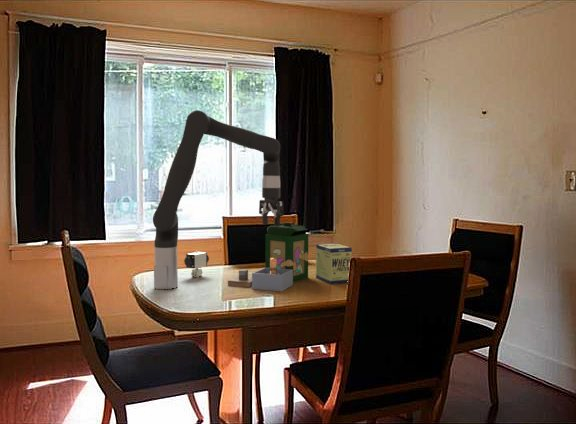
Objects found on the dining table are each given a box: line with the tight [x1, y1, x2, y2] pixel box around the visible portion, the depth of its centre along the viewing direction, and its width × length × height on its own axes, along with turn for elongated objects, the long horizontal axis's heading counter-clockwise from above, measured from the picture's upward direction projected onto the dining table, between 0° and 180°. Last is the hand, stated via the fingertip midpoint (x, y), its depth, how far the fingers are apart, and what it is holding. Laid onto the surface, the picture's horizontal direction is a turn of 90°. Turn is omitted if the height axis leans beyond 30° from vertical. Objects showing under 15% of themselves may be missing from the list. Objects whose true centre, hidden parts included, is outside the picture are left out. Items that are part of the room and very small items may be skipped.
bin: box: [251, 267, 294, 292], centre depth 237 cm, size 13×13×7 cm
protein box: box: [315, 243, 353, 285], centre depth 251 cm, size 10×16×16 cm
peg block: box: [270, 258, 281, 275], centre depth 237 cm, size 6×6×12 cm
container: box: [264, 222, 309, 283], centre depth 254 cm, size 15×18×25 cm
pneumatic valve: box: [183, 250, 210, 278], centre depth 258 cm, size 6×12×12 cm, turn 146°
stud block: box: [227, 269, 252, 288], centre depth 243 cm, size 10×10×6 cm
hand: (270, 225), depth 235 cm, fingers open, 8 cm apart
